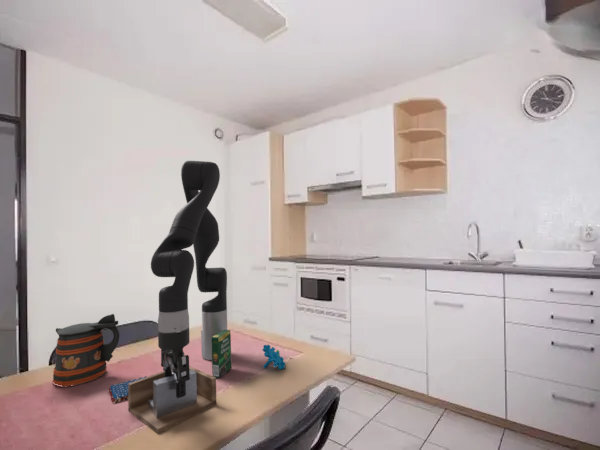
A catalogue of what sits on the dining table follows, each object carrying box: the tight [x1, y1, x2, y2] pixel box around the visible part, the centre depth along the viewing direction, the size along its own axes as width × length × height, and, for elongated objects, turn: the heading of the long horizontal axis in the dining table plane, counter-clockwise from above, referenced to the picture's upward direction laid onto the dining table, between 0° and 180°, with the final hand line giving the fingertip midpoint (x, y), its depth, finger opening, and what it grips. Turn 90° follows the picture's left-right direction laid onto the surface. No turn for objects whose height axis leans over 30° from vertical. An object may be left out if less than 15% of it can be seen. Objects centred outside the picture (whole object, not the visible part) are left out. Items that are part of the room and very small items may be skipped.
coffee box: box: [211, 329, 233, 379], centre depth 105 cm, size 8×3×13 cm, turn 162°
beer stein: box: [52, 313, 120, 386], centre depth 106 cm, size 19×15×20 cm
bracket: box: [148, 370, 197, 418], centre depth 84 cm, size 10×8×8 cm
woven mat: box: [108, 376, 148, 404], centre depth 94 cm, size 10×11×2 cm
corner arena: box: [127, 365, 217, 434], centre depth 85 cm, size 16×16×7 cm
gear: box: [262, 344, 286, 371], centre depth 109 cm, size 11×6×10 cm
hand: (174, 390), depth 82 cm, fingers open, 8 cm apart
